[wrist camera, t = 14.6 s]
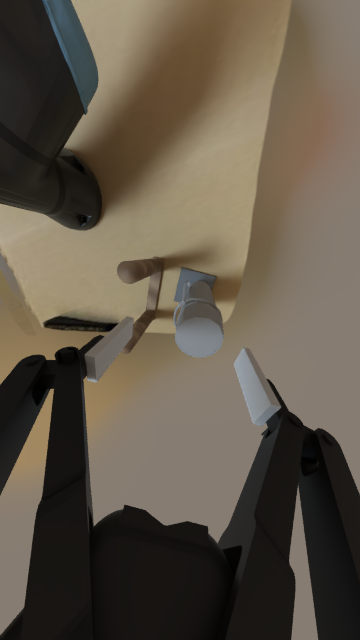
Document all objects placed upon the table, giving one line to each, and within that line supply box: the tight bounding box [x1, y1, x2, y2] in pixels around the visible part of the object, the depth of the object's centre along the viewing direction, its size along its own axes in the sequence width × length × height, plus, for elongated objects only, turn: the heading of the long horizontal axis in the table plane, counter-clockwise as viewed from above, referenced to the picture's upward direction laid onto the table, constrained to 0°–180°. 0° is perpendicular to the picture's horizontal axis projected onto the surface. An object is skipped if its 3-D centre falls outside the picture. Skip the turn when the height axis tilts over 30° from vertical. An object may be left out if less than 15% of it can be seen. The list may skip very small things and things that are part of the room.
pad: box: [174, 268, 216, 302], centre depth 41 cm, size 10×10×1 cm
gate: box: [117, 257, 164, 354], centre depth 35 cm, size 20×4×19 cm, turn 166°
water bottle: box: [174, 281, 224, 358], centre depth 29 cm, size 9×8×25 cm
